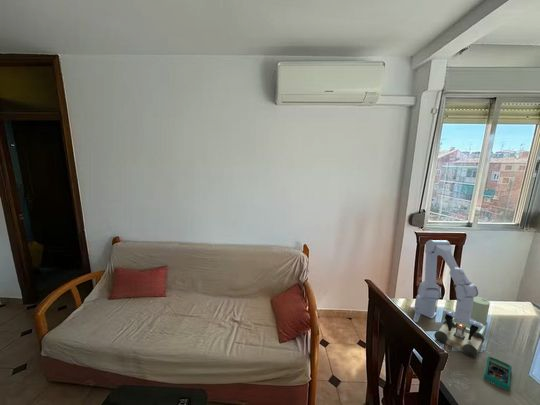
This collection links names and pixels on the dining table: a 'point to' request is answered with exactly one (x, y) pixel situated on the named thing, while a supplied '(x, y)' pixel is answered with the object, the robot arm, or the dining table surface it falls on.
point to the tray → (469, 327)
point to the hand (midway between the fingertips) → (459, 334)
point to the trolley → (464, 345)
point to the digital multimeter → (498, 373)
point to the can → (480, 309)
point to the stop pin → (460, 330)
